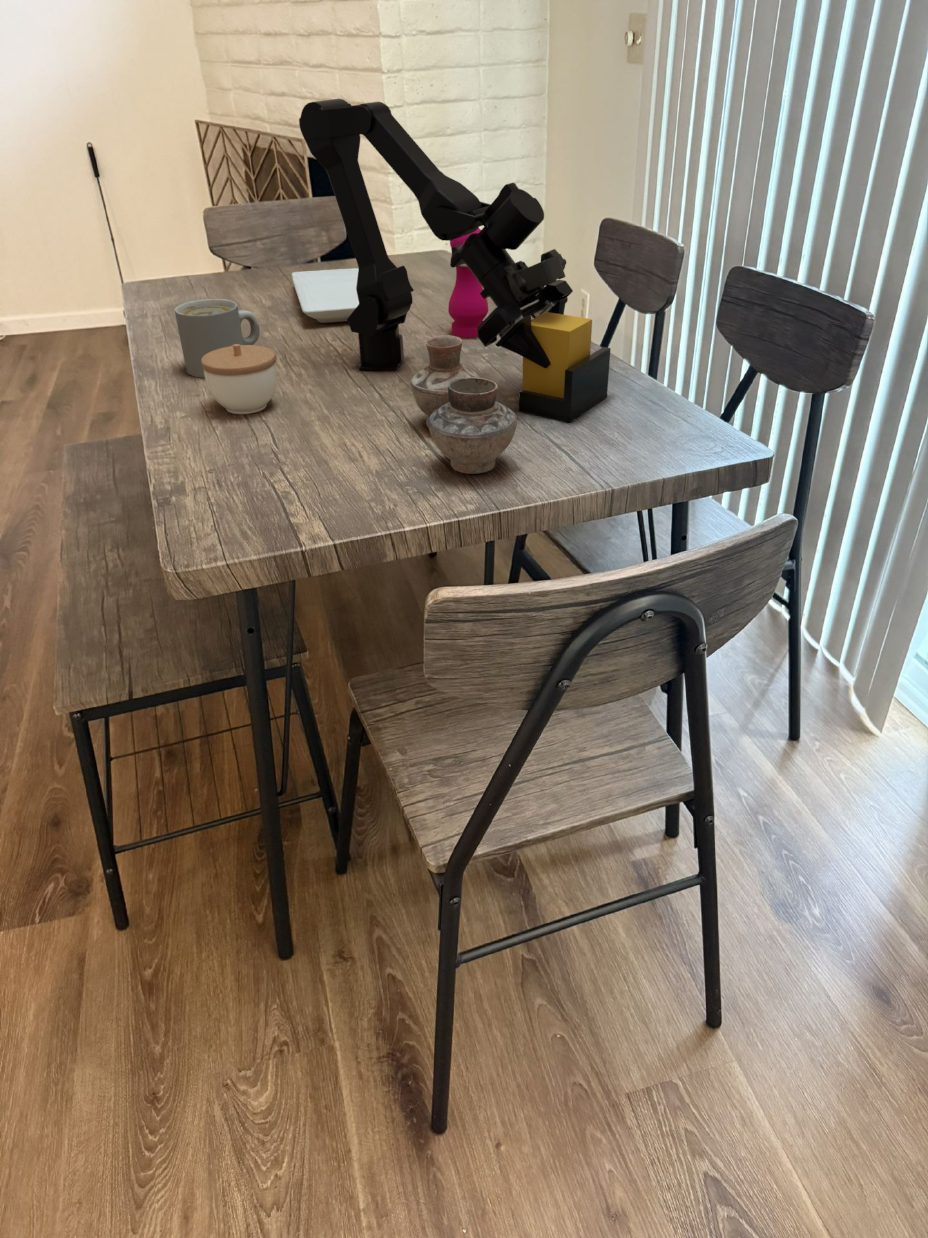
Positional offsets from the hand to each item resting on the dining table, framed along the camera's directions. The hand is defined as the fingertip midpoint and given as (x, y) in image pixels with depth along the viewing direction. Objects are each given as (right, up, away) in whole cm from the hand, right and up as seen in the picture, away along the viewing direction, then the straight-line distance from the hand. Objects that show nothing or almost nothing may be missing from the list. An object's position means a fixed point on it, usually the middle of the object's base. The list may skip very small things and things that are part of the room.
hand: (560, 359), depth 130 cm
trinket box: (-47, -6, +5) cm, 48 cm away
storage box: (0, -5, +4) cm, 7 cm away
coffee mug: (-54, +5, +21) cm, 58 cm away
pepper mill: (-13, +14, +33) cm, 39 cm away
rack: (+1, -6, +3) cm, 7 cm away
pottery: (-15, -14, -8) cm, 22 cm away
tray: (-39, +26, +51) cm, 69 cm away
